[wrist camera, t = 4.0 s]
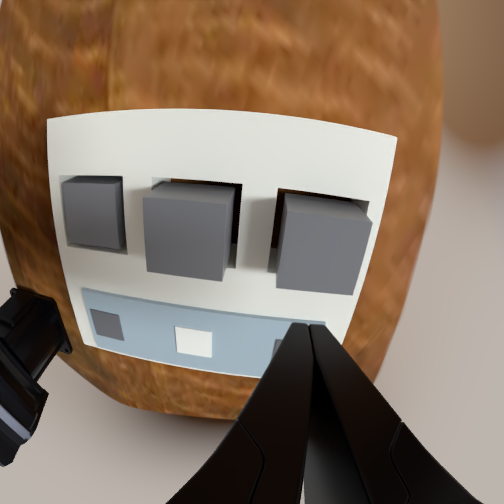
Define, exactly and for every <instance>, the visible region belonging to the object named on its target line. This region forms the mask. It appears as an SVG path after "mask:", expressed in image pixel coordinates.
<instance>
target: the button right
mask: <svg viewBox="0 0 504 504" xmlns="http://www.w3.org/2000/svg"><path fill="white" fill-rule="evenodd" d="M372 224H373V222H372V221H371V220H370V219H369V218H368V216H367V215H366V214H365V213H364V212H363V211H362V209H361V208H360V207H359V206H358V205H357V204H356V203H353V202H347V201H340V200H334V199H327V198H320V197H313V196H306V195H298V194H290V193H285V197H284V204H283V211H282V219H281V226H280V233H279V240H278V247H277V254H276V288H280V289H289V290H299V291H309V292H319V293H329V294H340V295H351V296H353V292H354V289H355V286H356V283H357V279H358V276H359V273H360V269H361V266H362V262H363V259H364V255H365V251H366V248H367V244H368V240H369V236H370V232H371V228H372Z"/></svg>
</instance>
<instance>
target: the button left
mask: <svg viewBox="0 0 504 504" xmlns="http://www.w3.org/2000/svg"><path fill="white" fill-rule="evenodd" d="M62 187H63V198H64V207H65V215H66V223H67V229H68V236H69V242H70V243H78V244H85V245H92V246H100V247H107V248H115V249H120V248H121V247H122V246H123V245H124V244H125V243H126V242H127V241H126V229H125V215H124V197H123V176H101V175H80V176H77V177H75V178H73V179H70V180H68V181H66V182H64V183H62Z"/></svg>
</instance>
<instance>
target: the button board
mask: <svg viewBox="0 0 504 504" xmlns="http://www.w3.org/2000/svg"><path fill="white" fill-rule="evenodd" d="M396 143H397V137H394V136H391V135H387V134H383V133H378V132H374V131H370V130H365V129H361V128H356V127H351V126H346V125H341V124H336V123H330V122H325V121H319V120H313V119H306V118H299V117H292V116H284V115H276V114H267V113H256V112H245V111H231V110H211V109H141V110H122V111H109V112H98V113H88V114H79V115H72V116H64V117H58V118H51V119H47V151H48V170H49V182H50V193H51V202H52V210H53V217H54V224H55V230H56V236H57V242H58V247H59V252H60V257H61V262H62V267H63V271H64V275H65V280H66V284H67V288H68V292H69V295H70V299H71V303H72V306H73V310H74V313H75V317H76V320H77V323H78V326H79V329H80V332H81V335H82V338H83V341H84V344H86V345H90V346H93V347H97V348H100V349H104V350H108V351H111V352H115V353H119V354H123V355H127V356H131V357H136V358H140V359H144V360H149V361H154V362H158V363H163V364H168V365H173V366H179V367H184V368H190V369H196V370H202V371H208V372H215V373H222V374H229V375H237V376H246V377H255V378H261V377H262V375H263V374H264V372H265V370H266V368H267V367H268V365H269V363H270V361H271V359H272V358H273V356H274V354H275V352H276V350H277V349H278V347H279V345H280V343H281V341H282V339H283V338H284V336H285V334H286V332H287V330H288V328H289V326H290V325H291V323H293V322H297V323H306V324H308V325H309V324H322V325H325V326H326V327H327V328H328V329H329V330H330V332H331V333H332V334H333V335H334V336H335V338H336V339H337V340H338V341H339V343H340V344H341V345H342V343H343V340H344V337H345V335H346V332H347V329H348V326H349V324H350V321H351V318H352V315H353V312H354V309H355V306H356V303H357V300H358V297H359V294H360V291H361V288H362V285H363V282H364V279H365V275H366V272H367V269H368V265H369V262H370V258H371V255H372V251H373V248H374V244H375V240H376V236H377V233H378V229H379V225H380V221H381V217H382V213H383V208H384V204H385V200H386V195H387V190H388V186H389V181H390V176H391V171H392V165H393V160H394V154H395V149H396ZM80 175H101V176H123V197H124V215H125V229H126V241H127V242H126V243H125V244H124V245H123V246H122V247H121V248H120V249H115V248H107V247H100V246H92V245H85V244H78V243H70V242H69V236H68V229H67V223H66V215H65V207H64V198H63V187H62V183H64V182H66V181H68V180H70V179H73V178H75V177H77V176H80ZM171 178H177V179H192V180H205V181H217V182H228V183H239V184H243V186H242V197H241V209H240V221H239V233H238V244H235V243H231V253H230V257H229V260H228V264H227V267H226V270H225V274H224V277H223V281H222V282H220V281H212V280H204V279H196V278H189V277H181V276H174V275H167V274H160V273H153V272H147V267H146V255H145V241H144V224H143V196H145V195H146V194H148V193H149V192H150V191H152V190H153V189H155V188H156V187H158V186H159V185H161V184H162V183H164V182H171ZM278 188H284V189H292V190H300V191H307V192H314V193H321V194H328V195H335V196H341V197H347V198H352V199H351V202H353V203H356V204H357V205H358V206H359V207H360V208H361V209H362V211H363V212H364V213H365V214H366V215H367V216H368V218H369V219H370V220H371V221H372V222H373V224H372V228H371V232H370V236H369V240H368V244H367V248H366V251H365V255H364V259H363V262H362V266H361V269H360V273H359V276H358V279H357V283H356V286H355V289H354V292H353V296H351V295H340V294H329V293H319V292H309V291H299V290H289V289H280V288H276V254H277V248H270V246H271V238H272V231H273V223H274V215H275V207H276V199H277V191H278Z"/></svg>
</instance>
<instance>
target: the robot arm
mask: <svg viewBox="0 0 504 504" xmlns="http://www.w3.org/2000/svg"><path fill="white" fill-rule="evenodd" d="M10 294H11V297H10V298H9V299H8V300H7V301H6V302H5V303H4V304H3V305H2V306H1V307H0V466H2V467H4V466H6V465H8V464H10V463H12V462H13V460H14V458H15V455H16V453H17V451H18V449H19V447H20V445H22V444H24V443H26V442H27V441H28V440H29V439H30V438H31V437H32V435H33V434H34V432H35V430H36V428H37V425H38V422H39V419H40V417H41V414H42V411H43V408H44V406H45V403H46V400H47V397H48V395H49V393H48V392H47V391H46V390H45V389H43V388H42V387H41V386H40V385H39V384H38V383H37V381H38V380H39V378H40V377H41V375H42V374H43V372H44V371H45V369H46V368H47V366H48V365H49V363H50V362H51V360H52V359H53V357H54V356H55V355H56V353H57V352H58V351H61V352H64V353H66V354H71V353H72V351H73V349H72V347H71V344H70V342H69V339H68V336H67V333H66V331H65V328H64V325H63V322H62V319H61V316H60V313H59V310H58V307H57V304H56V302H55V301H54V300H53V299H50V298H47V297H43V296H40V295H36V294H33V293H29V292H26V291H23V290H19V289H16V288H12V289H11V290H10ZM401 421H402V420H401V418H400V417H399V416H398V415H397V413H396V412H395V411H394V410H393V408H392V407H391V406H390V405H389V403H388V402H387V401H386V400H385V398H384V397H383V396H382V395H381V393H380V392H379V391H378V390H377V389H376V387H375V386H374V385H373V383H372V382H371V381H370V380H369V378H368V377H367V376H366V375H365V373H364V372H363V371H362V370H361V369H360V367H359V366H358V365H357V364H356V362H355V361H354V360H353V359H352V357H351V356H350V355H349V354H348V352H347V351H346V350H345V349H344V348H343V346H342V345H341V344H340V343H339V341H338V340H337V339H336V338H335V336H334V335H333V334H332V333H331V332H330V330H329V329H328V328H327V327H326V326H325V325H322V324H309V325H308V324H306V323H297V322H293V323H291V325H290V326H289V328H288V330H287V332H286V334H285V336H284V338H283V339H282V341H281V343H280V345H279V347H278V349H277V350H276V352H275V354H274V356H273V358H272V359H271V361H270V363H269V365H268V367H267V368H266V370H265V372H264V374H263V375H262V377H261V379H260V381H259V382H258V384H257V386H256V387H255V389H254V391H253V393H252V394H251V396H250V398H249V399H248V401H247V403H246V404H245V406H244V408H243V409H242V411H241V413H240V414H239V416H238V417H237V420H236V421H235V422H234V424H233V425H232V427H231V428H230V430H229V432H228V433H227V435H226V436H225V437H224V439H223V440H222V442H221V443H220V445H219V446H218V447H217V449H216V450H215V451H214V453H213V454H212V455H211V456H210V458H209V459H208V460H207V461H206V462H205V464H204V465H203V466H202V467H201V468H200V469H199V470H198V472H197V473H196V474H195V475H194V476H193V477H192V478H191V479H190V480H189V481H188V482H187V483H186V484H185V485H184V486H183V487H182V488H181V489H180V490H179V491H178V492H177V493H176V494H175V495H174V496H173V497H172V498H171V499H170V500H169V501H168V502H167V503H166V504H300V499H301V492H302V485H303V478H304V496H305V504H483V503H481V502H480V501H479V500H477V499H476V498H474V497H473V496H472V495H471V494H470V493H469V492H468V491H467V490H466V489H465V488H464V487H463V486H462V485H461V484H460V483H458V481H457V480H456V479H455V478H454V477H453V476H452V475H451V474H449V472H448V471H447V470H446V469H445V468H444V467H443V466H441V465H440V464H439V463H438V461H437V460H436V459H435V458H434V457H433V456H432V455H431V454H430V453H429V452H428V451H427V450H426V449H425V447H424V446H423V445H422V444H421V443H420V442H419V440H418V439H417V438H416V437H415V436H414V434H413V433H412V432H411V431H410V429H409V428H408V427H407V426H406V425H405V423H404V422H401Z"/></svg>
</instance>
